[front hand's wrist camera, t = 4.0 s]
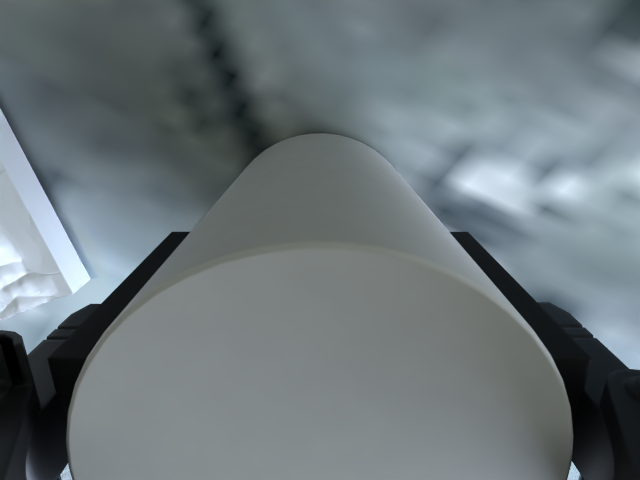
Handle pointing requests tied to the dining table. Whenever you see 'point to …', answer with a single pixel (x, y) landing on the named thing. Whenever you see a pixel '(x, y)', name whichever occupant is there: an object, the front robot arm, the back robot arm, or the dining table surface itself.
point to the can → (319, 344)
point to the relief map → (30, 237)
